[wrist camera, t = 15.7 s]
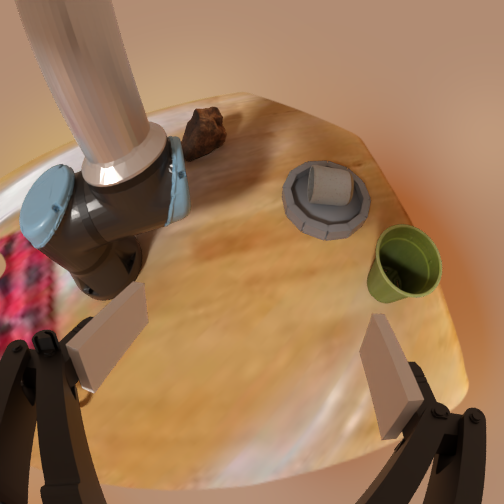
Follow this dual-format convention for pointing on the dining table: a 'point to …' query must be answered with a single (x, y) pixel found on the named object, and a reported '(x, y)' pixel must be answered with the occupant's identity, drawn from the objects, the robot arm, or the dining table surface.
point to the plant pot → (404, 265)
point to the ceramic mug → (330, 186)
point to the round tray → (323, 206)
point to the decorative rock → (203, 133)
